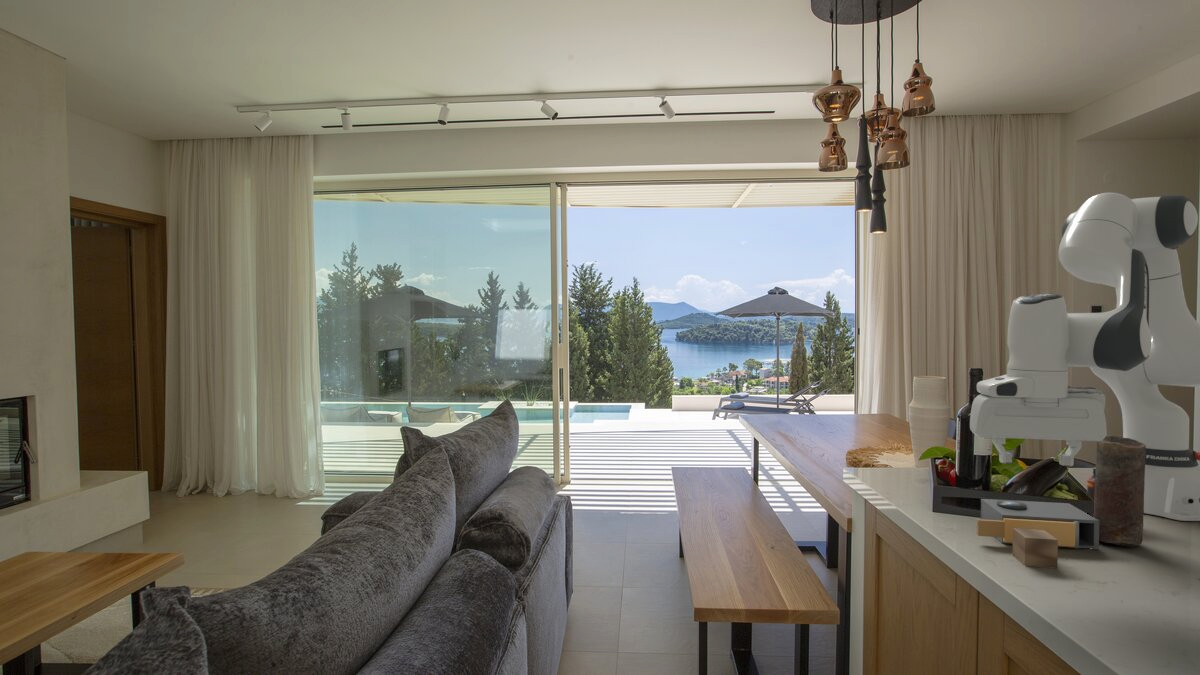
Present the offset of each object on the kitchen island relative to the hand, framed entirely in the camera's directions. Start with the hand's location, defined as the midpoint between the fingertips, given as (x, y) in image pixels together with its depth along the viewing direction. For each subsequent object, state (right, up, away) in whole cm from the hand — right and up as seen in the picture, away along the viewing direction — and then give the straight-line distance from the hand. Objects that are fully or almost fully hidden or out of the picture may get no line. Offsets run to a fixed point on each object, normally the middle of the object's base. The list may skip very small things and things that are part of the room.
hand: (1035, 464), depth 109 cm
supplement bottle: (+30, -17, +21) cm, 40 cm away
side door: (+4, -17, +8) cm, 19 cm away
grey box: (+9, -17, +13) cm, 23 cm away
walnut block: (0, -17, 0) cm, 17 cm away
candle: (+22, -17, +9) cm, 29 cm away
